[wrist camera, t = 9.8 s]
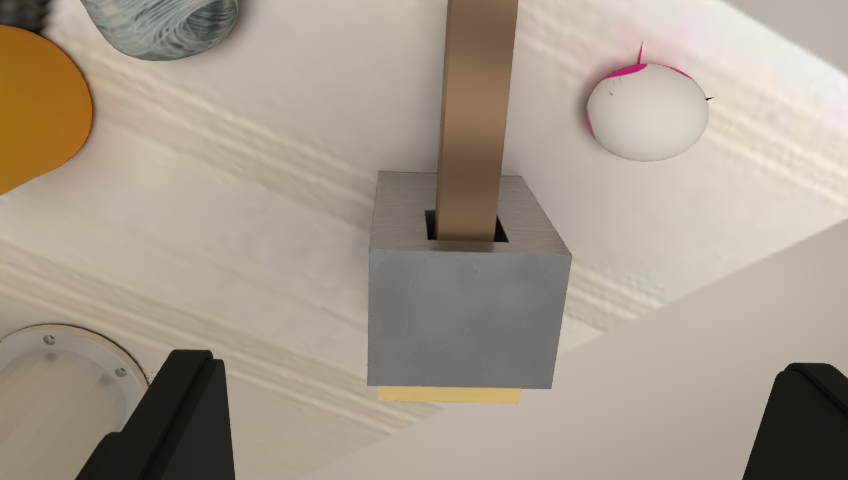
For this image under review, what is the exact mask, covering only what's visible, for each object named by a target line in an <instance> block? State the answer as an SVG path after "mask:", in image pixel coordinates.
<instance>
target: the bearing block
mask: <svg viewBox="0 0 848 480" xmlns="http://www.w3.org/2000/svg"><path fill="white" fill-rule="evenodd" d="M436 191H437V173H410V172H383V171H379V173H378V181H377V190H376V198H375V207H374V215H373V223H372V232H371V240H370V249H369V311H368V376H367V386H412V387H466V388H520V389H525V388H526V389H551V386H552V380H553V374H554V367H555V361H556V355H557V348H558V342H559V336H560V329H561V323H562V316H563V310H564V304H565V297H566V291H567V285H568V278H569V272H570V265H571V259H572V254H571V253H570V251H569V250H568V248H567V247H566V245H565V244H564V242H563V240H562V239H561V237H560V236H559V234H558V233H557V231H556V230H555V228H554V226H553V225H552V223H551V222H550V220H549V219H548V217H547V216H546V214H545V212H544V211H543V209H542V208H541V206H540V205H539V203H538V201H537V200H536V198H535V197H534V195H533V194H532V192H531V191H530V189H529V187H528V186H527V184H526V183H525V181H524V180H523V178H522V177H518V176H500V186H499V196H498V206H497V216H496V226H495V236H494V242H476V241H444V240H434V225H435V208H436Z"/></svg>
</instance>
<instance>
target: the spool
mask: <svg viewBox="0 0 848 480" xmlns="http://www.w3.org/2000/svg"><path fill="white" fill-rule="evenodd" d="M80 1H81V2H82V4H83V5H84V7H85V8H86V10H87V12H88V14H89V16H90V18H91V20H92V21H93V23H94V24H95V25H96V27H97V28H98V30H99V31H100V32H101V34H102V35H103V36H104V38H105V39H106V40H107V41H108V42H109V43H110V44H111V45H112V46H113V47H114V48H115V49H117V50H118V51H120V52H122V53H124V54H126V55H128V56H130V57H134V58H138V59H141V60H150V61H169V60H177V59H181V58H185V57H189V56H192V55H196V54H198V53H201V52H203V51H205V50H207V49H209V48H212V47H214V46H215V45H217V44H219V43H220V42H221V41H222V40H223V39H224V38H226V37H227V36H228V35H229V33H230V32H231V30H232V28H233V26H234V24H235V22H236V19H237V16H238V12H239V11H238V0H80Z"/></svg>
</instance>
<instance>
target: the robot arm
mask: <svg viewBox="0 0 848 480" xmlns="http://www.w3.org/2000/svg"><path fill="white" fill-rule="evenodd" d="M0 480H235V472H234V461H233V450H232V440H231V429H230V418H229V407H228V396H227V386H226V375H225V366H224V362H223V360H222V359H213V355H212V352H211V351H210V350H180V349H176V350H173V351H172V352H171V353H170V354H169V356H168V358H167V359H166V361H165V362H164V364H163V366H162V367H161V369H160V370H159V372H158V373H157V375H156V377H155V378H154V380H153V381H152V383H151V385H150V386H149V388H148V385H147V382H146V380H145V377H144V375H143V374H142V372H141V371H140V369H139V368H138V366H137V364H136V363H135V362H134V361H133V360H132V359H131V358H130V357H129V356H128V355H127V354H126V353H125V352H124V351H123V350H121V349H120V348H119V347H117V346H116V345H115V344H114V343H112V342H110V341H108V340H107V339H105V338H103V337H101V336H99V335H97V334H94V333H92V332H89V331H87V330H84V329H80V328H75V327H71V326H66V325H50V324H49V325H39V326H32V327H29V328H25V329H22V330H19V331H17V332H15V333H13V334H11V335H9V336H7V337H6V338H5V339H3V340H2V341H1V342H0ZM742 480H848V378H847V377H845V376H844V375H843V374H842V373H841V372H840V371H839V370H837V369H836V368H835V367H833V366H832V365H830V364H825V363H792V364H789V365H788V366H787V367H786V368H785V370H784V371H782V372H780V373H779V374H777V376H776V378H775V381H774V384H773V387H772V390H771V393H770V396H769V399H768V403H767V405H766V408H765V412H764V415H763V418H762V421H761V424H760V427H759V430H758V433H757V436H756V440H755V442H754V446H753V448H752V451H751V454H750V457H749V461H748V464H747V467H746V470H745V473H744V476H743V479H742Z"/></svg>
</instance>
